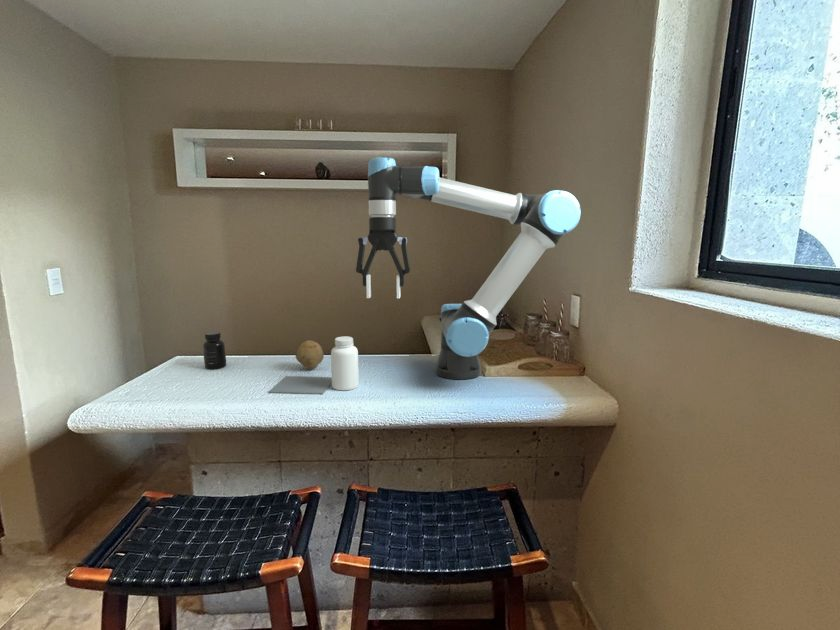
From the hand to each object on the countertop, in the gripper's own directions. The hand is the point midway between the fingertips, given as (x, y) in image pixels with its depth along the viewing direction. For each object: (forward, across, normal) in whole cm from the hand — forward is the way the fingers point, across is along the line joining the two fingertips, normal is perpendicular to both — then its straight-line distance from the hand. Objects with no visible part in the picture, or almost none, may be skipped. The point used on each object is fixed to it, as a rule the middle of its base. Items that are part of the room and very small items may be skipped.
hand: (383, 297), depth 130 cm
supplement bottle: (+27, +61, -16) cm, 69 cm away
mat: (+27, +25, 0) cm, 37 cm away
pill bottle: (+27, +12, 0) cm, 30 cm away
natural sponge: (+27, +28, -16) cm, 42 cm away
